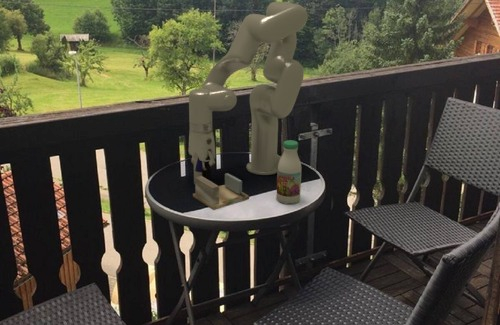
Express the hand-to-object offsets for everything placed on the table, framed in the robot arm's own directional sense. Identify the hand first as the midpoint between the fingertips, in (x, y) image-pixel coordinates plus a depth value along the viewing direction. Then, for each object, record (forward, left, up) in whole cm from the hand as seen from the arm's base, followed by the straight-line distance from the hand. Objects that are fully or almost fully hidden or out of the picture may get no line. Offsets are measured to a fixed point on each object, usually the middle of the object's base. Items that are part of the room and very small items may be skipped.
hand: (201, 176), depth 188 cm
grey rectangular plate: (-4, +14, -1) cm, 15 cm away
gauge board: (+2, +13, -3) cm, 13 cm away
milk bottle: (-16, +27, -3) cm, 32 cm away
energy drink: (0, 0, -3) cm, 3 cm away
